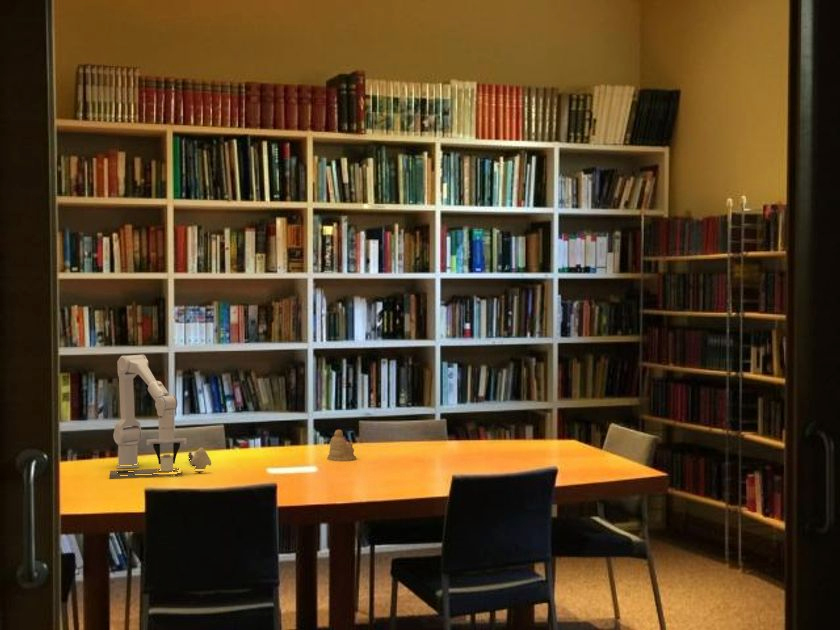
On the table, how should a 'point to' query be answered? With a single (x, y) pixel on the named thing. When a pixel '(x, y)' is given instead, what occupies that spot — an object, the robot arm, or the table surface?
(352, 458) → the statue
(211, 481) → the table surface
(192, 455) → the dark labeled box
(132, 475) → the grey slotted panel
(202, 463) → the arrowhead
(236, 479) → the table surface
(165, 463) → the wood-topped square block
